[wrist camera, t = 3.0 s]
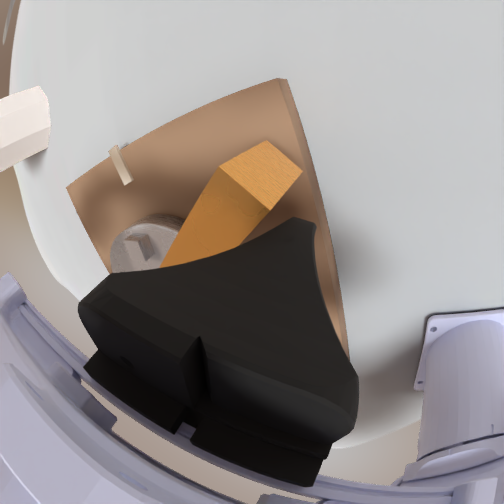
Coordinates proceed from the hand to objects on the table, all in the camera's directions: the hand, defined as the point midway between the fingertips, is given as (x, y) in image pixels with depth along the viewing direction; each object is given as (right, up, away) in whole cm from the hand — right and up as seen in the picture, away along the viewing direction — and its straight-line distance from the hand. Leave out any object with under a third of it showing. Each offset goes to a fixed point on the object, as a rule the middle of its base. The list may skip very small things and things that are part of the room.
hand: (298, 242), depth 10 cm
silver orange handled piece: (-5, -1, +8) cm, 9 cm away
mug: (-28, +16, +10) cm, 33 cm away
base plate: (-6, -2, +11) cm, 13 cm away
